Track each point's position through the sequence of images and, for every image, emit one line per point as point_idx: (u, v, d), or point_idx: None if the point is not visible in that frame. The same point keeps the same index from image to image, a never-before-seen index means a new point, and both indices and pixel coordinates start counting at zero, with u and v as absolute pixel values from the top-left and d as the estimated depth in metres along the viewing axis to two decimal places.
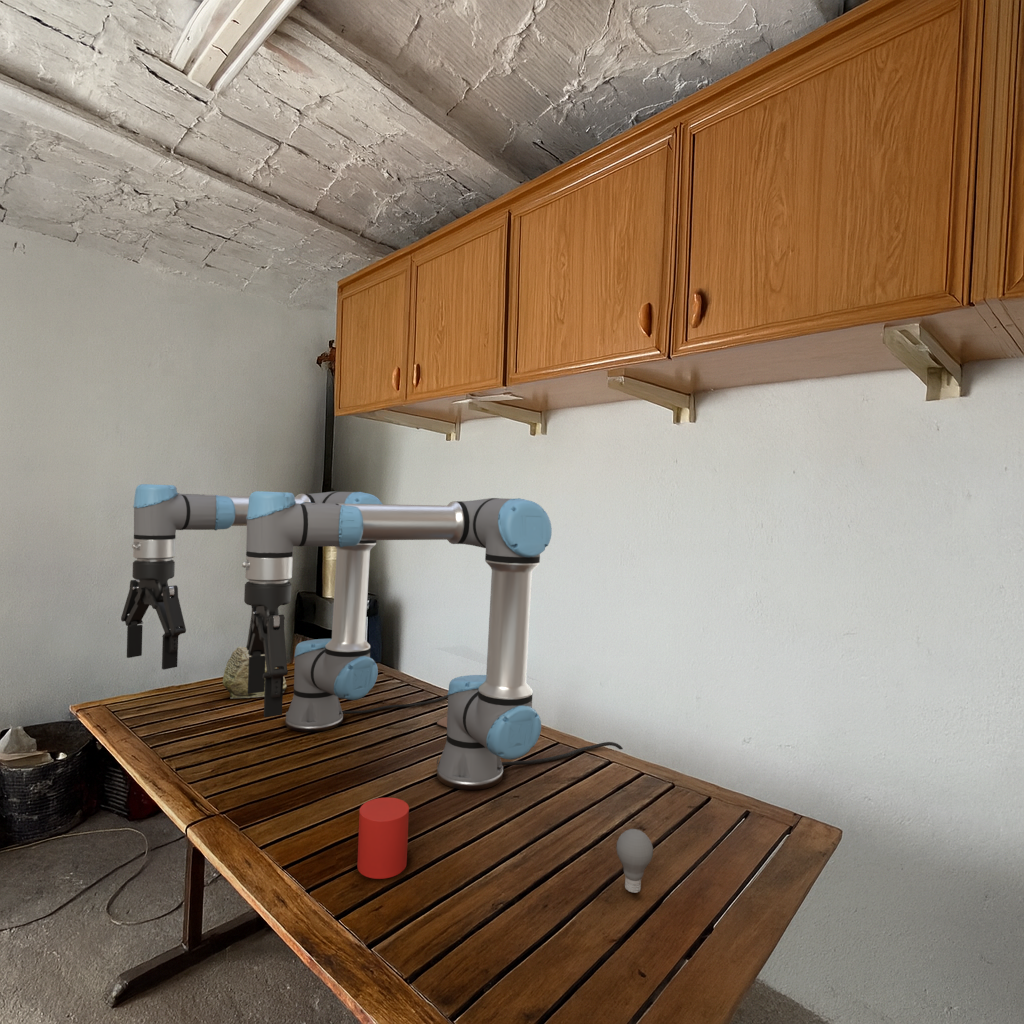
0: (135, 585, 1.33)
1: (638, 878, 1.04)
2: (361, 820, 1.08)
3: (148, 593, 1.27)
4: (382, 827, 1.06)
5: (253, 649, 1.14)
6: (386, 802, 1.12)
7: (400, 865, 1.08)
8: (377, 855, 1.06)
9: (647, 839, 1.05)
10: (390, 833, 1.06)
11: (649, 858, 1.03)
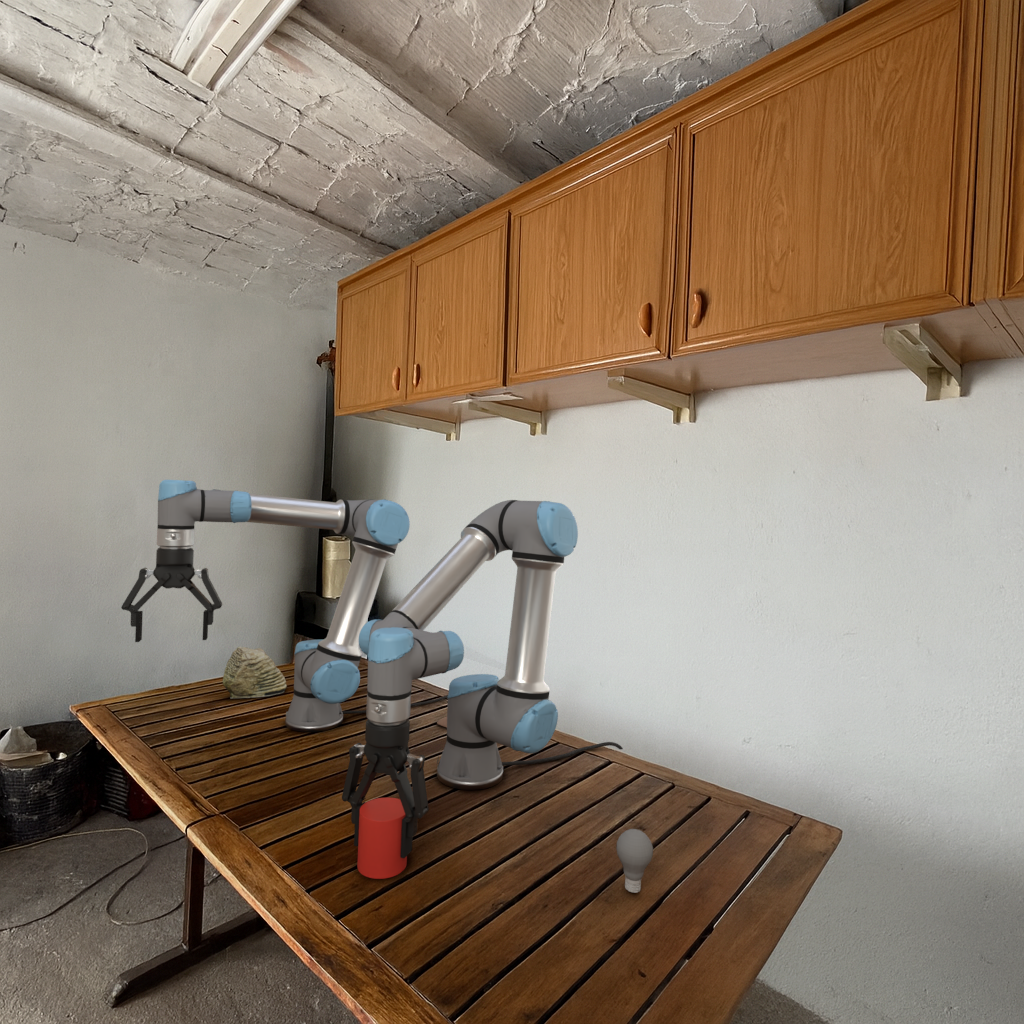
0: (145, 573, 1.42)
1: (638, 878, 1.04)
2: (361, 820, 1.08)
3: (182, 577, 1.44)
4: (382, 827, 1.06)
5: (361, 797, 1.11)
6: (386, 802, 1.12)
7: (400, 865, 1.08)
8: (377, 855, 1.06)
9: (647, 839, 1.05)
10: (390, 833, 1.06)
11: (649, 858, 1.03)
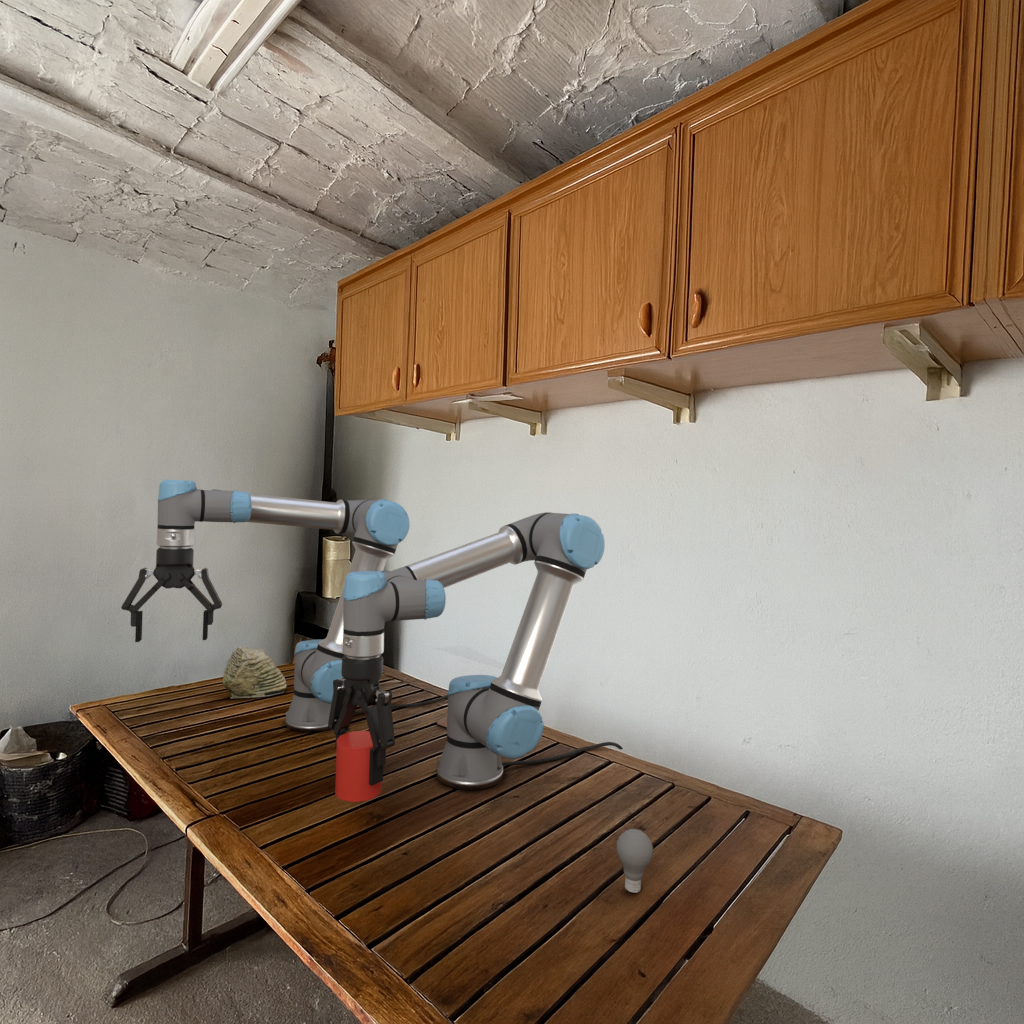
0: (145, 573, 1.42)
1: (638, 878, 1.04)
2: None
3: (182, 577, 1.44)
4: (350, 753, 1.14)
5: (342, 726, 1.20)
6: (365, 734, 1.20)
7: (369, 792, 1.15)
8: (346, 779, 1.14)
9: (647, 839, 1.05)
10: (358, 760, 1.14)
11: (649, 858, 1.03)
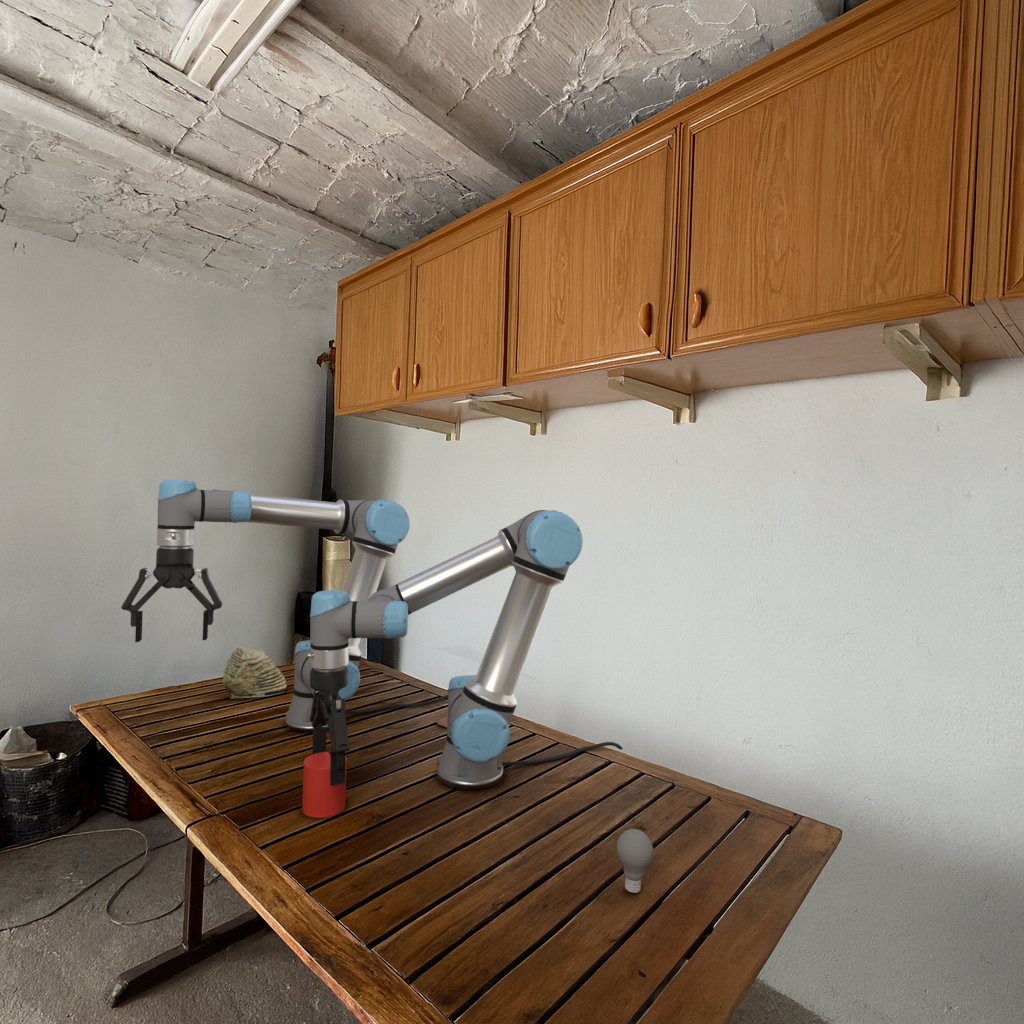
0: (145, 573, 1.42)
1: (638, 878, 1.04)
2: None
3: (182, 577, 1.44)
4: (309, 772, 1.26)
5: (316, 722, 1.34)
6: None
7: (324, 810, 1.25)
8: (306, 795, 1.26)
9: (647, 839, 1.05)
10: (314, 779, 1.25)
11: (649, 858, 1.03)
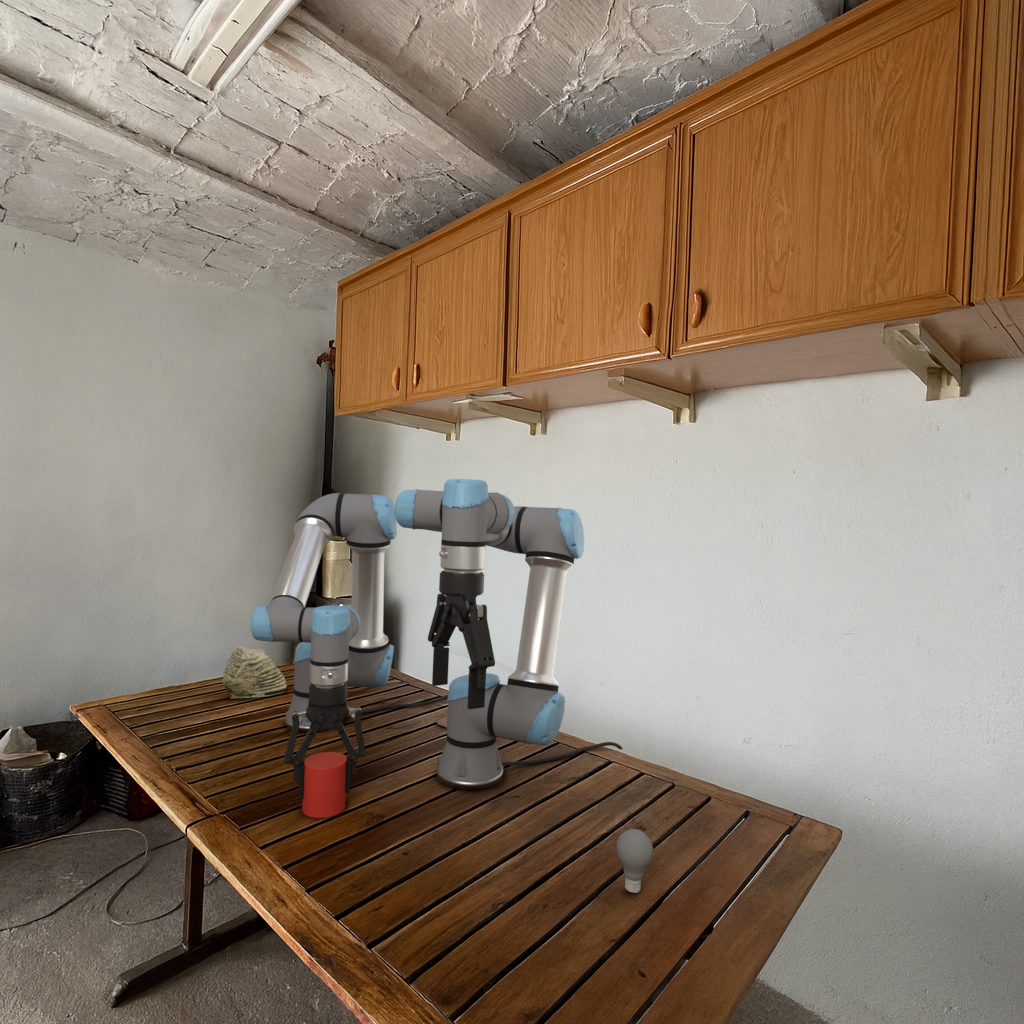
0: (298, 718, 1.26)
1: (638, 878, 1.04)
2: None
3: (337, 717, 1.28)
4: (308, 772, 1.26)
5: (439, 640, 1.12)
6: (334, 756, 1.31)
7: (324, 810, 1.25)
8: (306, 795, 1.26)
9: (647, 839, 1.05)
10: (314, 779, 1.25)
11: (649, 858, 1.03)
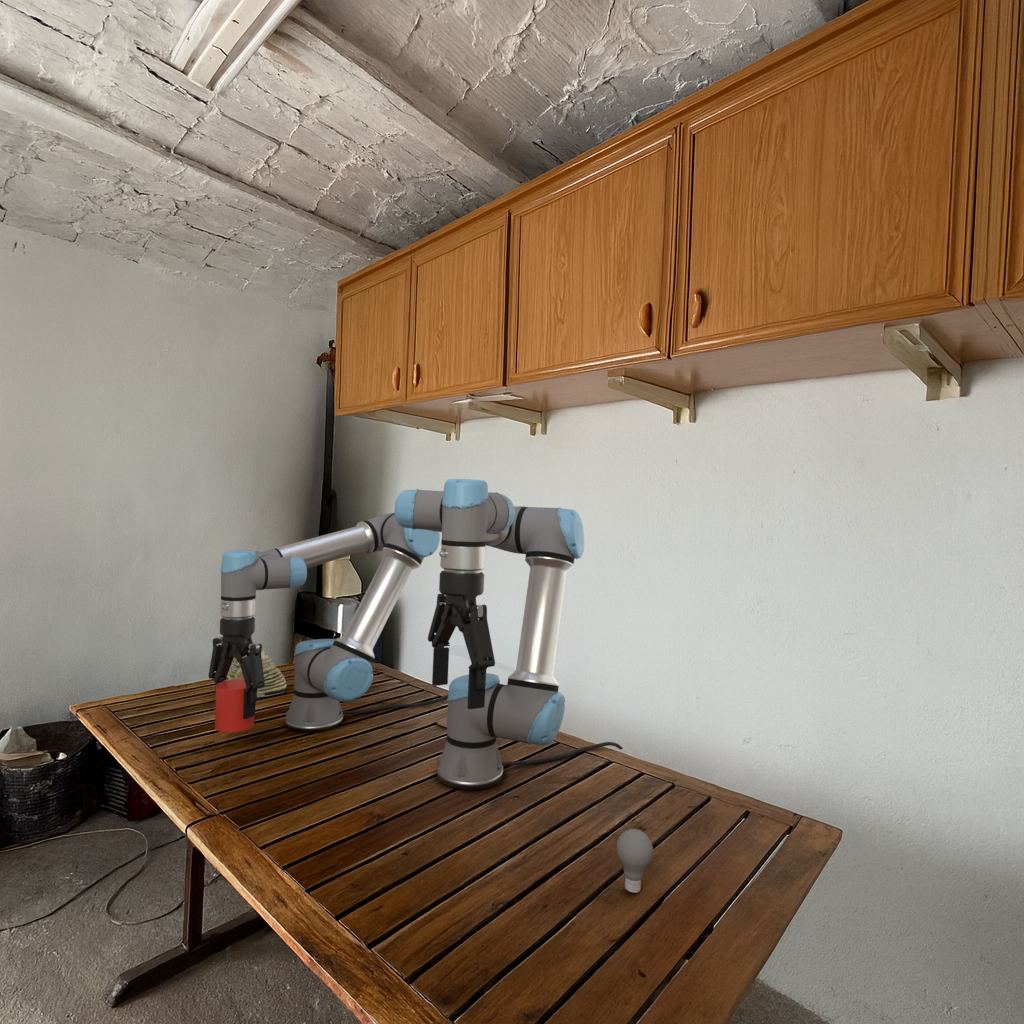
0: (218, 642, 1.49)
1: (638, 878, 1.04)
2: None
3: (235, 647, 1.45)
4: None
5: (439, 640, 1.12)
6: None
7: (219, 725, 1.44)
8: None
9: (647, 839, 1.05)
10: None
11: (649, 858, 1.03)
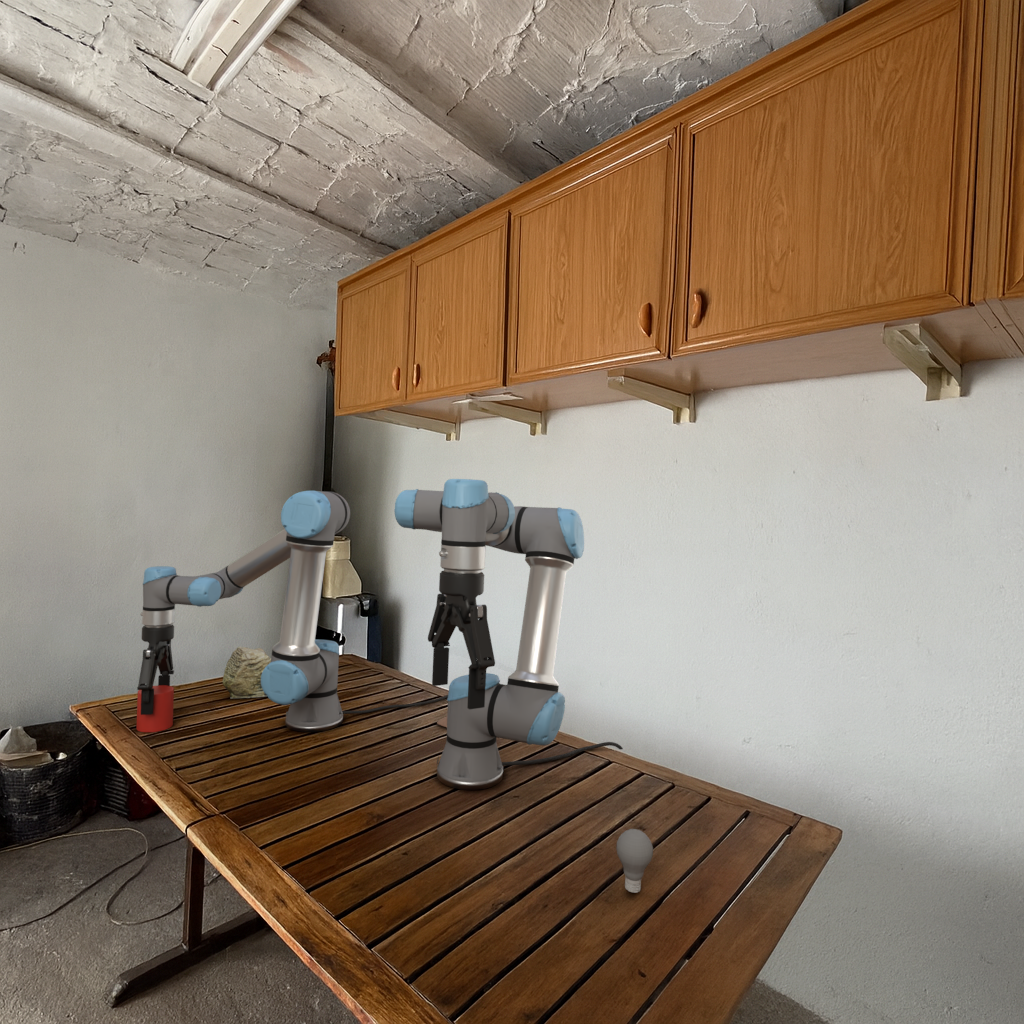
0: None
1: (638, 878, 1.04)
2: None
3: None
4: None
5: (439, 640, 1.12)
6: (158, 692, 1.67)
7: None
8: None
9: (647, 839, 1.05)
10: None
11: (649, 858, 1.03)
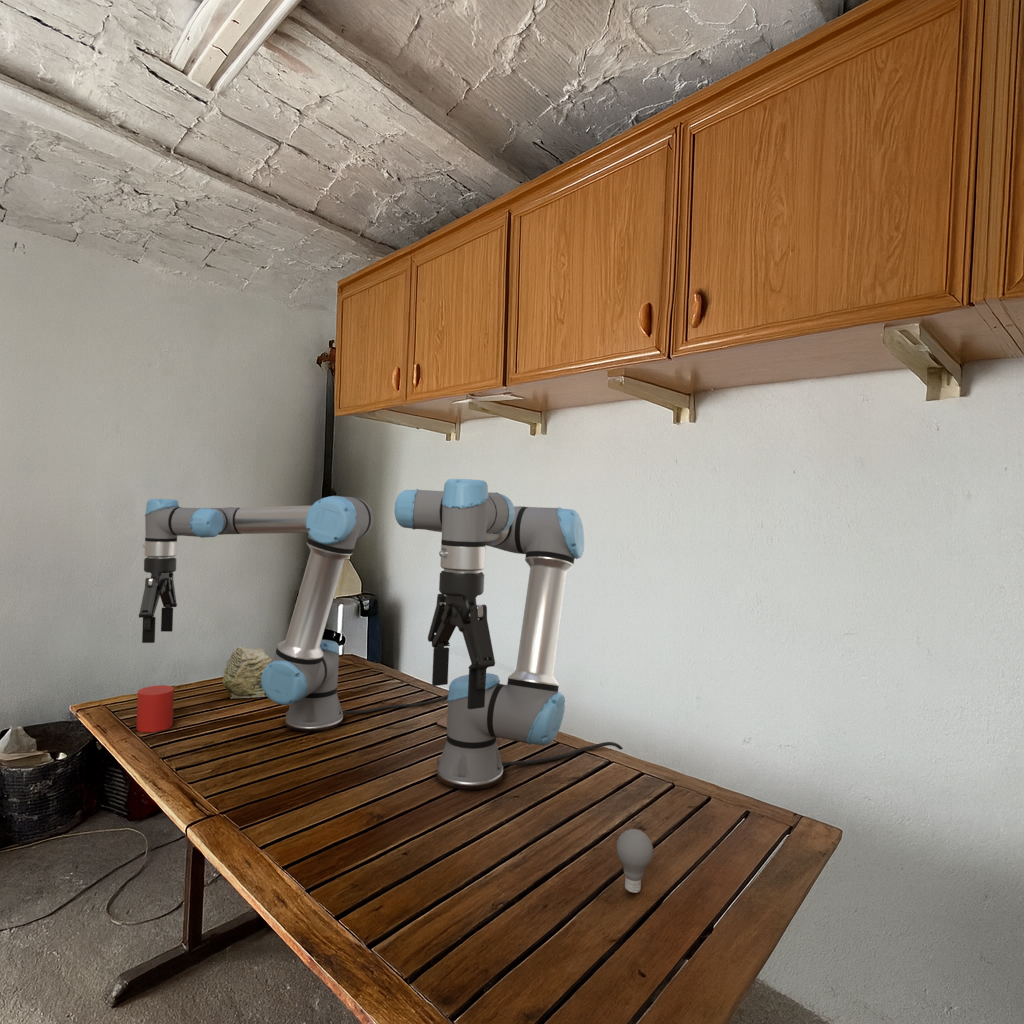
0: None
1: (638, 878, 1.04)
2: None
3: None
4: None
5: (439, 640, 1.12)
6: (158, 692, 1.67)
7: None
8: None
9: (647, 839, 1.05)
10: None
11: (649, 858, 1.03)
